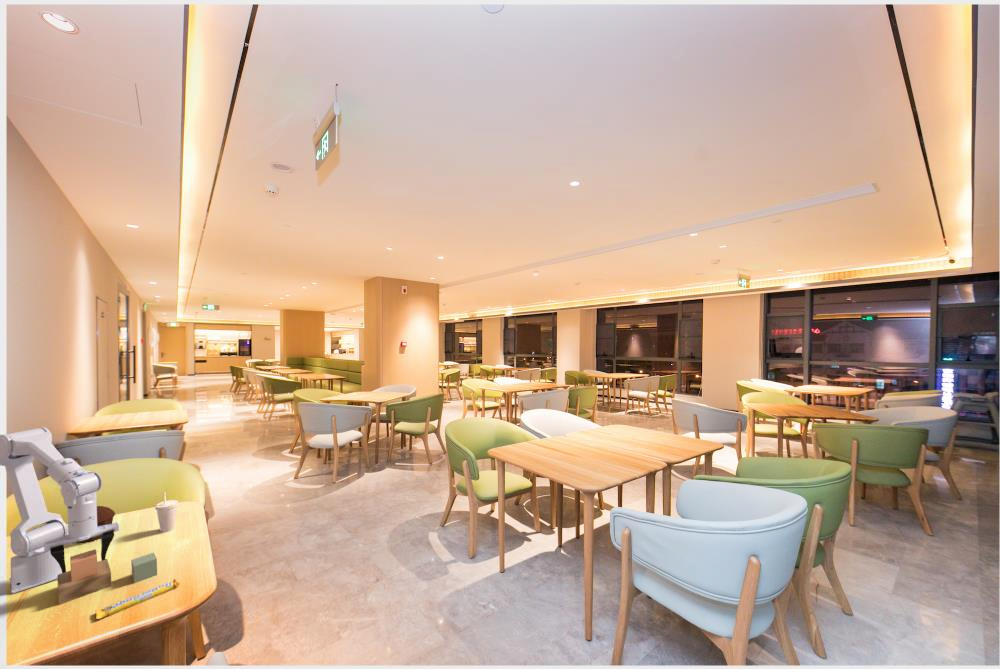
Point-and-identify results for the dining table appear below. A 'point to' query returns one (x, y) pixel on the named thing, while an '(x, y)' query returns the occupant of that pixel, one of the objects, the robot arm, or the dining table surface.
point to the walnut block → (83, 583)
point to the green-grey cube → (144, 567)
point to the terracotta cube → (83, 565)
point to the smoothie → (166, 514)
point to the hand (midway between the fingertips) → (84, 565)
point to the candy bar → (136, 599)
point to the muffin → (101, 520)
